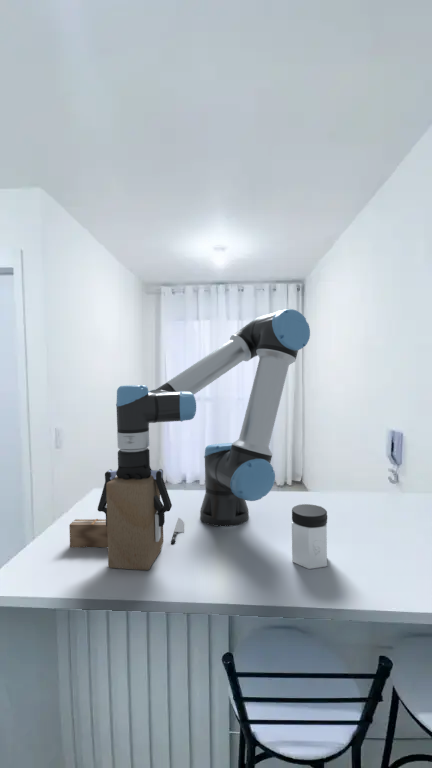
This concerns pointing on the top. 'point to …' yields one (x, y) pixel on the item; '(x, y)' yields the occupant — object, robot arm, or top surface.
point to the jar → (309, 536)
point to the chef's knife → (178, 529)
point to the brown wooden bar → (91, 533)
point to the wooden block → (132, 523)
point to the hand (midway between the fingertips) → (135, 539)
